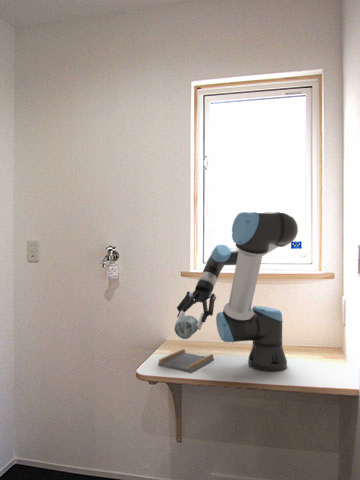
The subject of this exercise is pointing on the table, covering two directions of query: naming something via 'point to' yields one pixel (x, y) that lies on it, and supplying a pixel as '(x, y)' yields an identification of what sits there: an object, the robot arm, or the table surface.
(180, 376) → the table surface
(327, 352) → the table surface
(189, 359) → the slot board
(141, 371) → the table surface
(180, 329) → the grey thick cylinder
